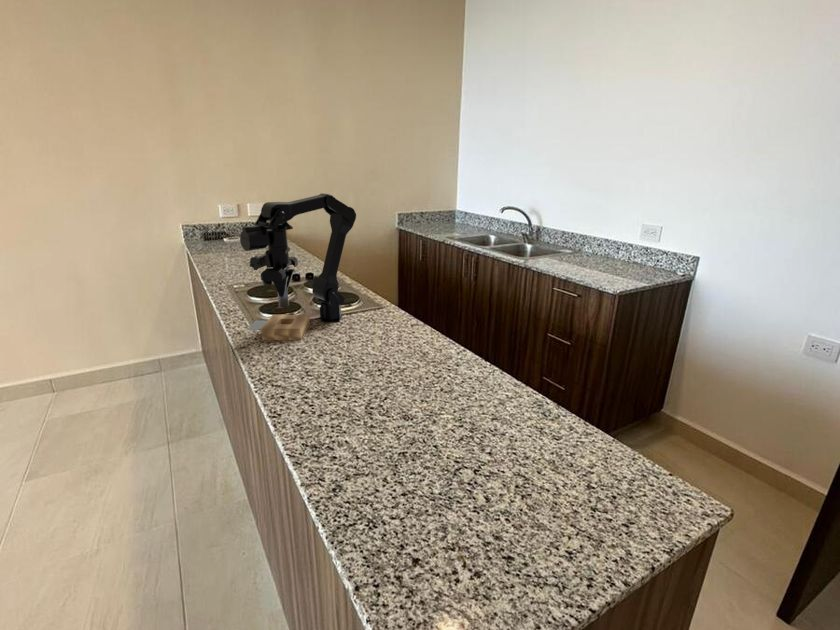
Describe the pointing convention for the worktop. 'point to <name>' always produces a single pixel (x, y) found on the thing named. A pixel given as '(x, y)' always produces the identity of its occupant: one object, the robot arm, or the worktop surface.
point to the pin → (284, 298)
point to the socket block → (285, 327)
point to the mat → (257, 325)
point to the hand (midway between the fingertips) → (283, 294)
